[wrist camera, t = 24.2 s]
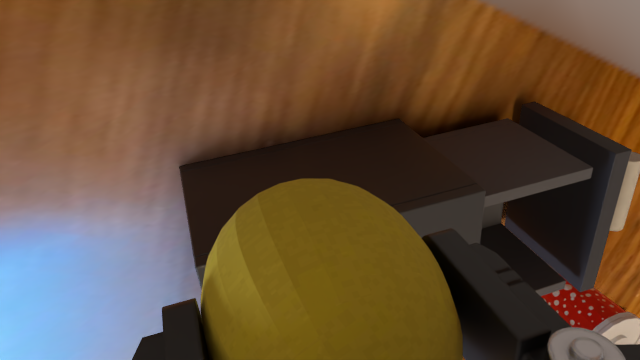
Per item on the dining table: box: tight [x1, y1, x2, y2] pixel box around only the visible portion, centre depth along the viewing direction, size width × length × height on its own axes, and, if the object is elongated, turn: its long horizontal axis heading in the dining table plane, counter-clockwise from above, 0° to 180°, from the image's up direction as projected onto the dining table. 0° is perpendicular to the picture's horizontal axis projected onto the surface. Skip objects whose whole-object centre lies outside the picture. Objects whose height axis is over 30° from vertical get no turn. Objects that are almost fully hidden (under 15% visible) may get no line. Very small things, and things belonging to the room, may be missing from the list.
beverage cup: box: [541, 266, 640, 345], centre depth 44 cm, size 6×6×14 cm
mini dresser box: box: [423, 102, 640, 296], centre depth 35 cm, size 19×11×9 cm, turn 94°
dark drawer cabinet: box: [179, 119, 486, 290], centre depth 32 cm, size 16×13×11 cm
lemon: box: [201, 179, 463, 360], centre depth 11 cm, size 6×6×8 cm
